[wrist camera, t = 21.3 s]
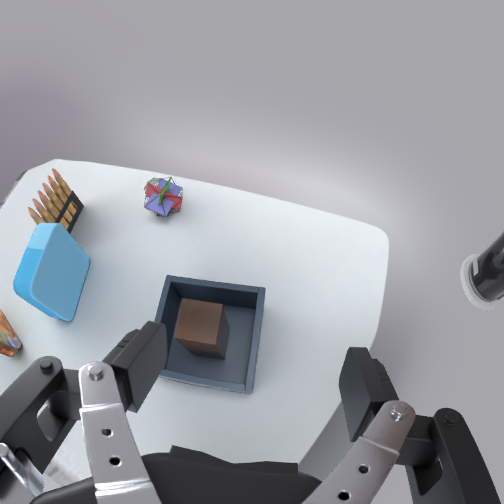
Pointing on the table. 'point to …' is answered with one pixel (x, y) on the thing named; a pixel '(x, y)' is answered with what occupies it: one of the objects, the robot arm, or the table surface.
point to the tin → (8, 338)
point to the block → (203, 328)
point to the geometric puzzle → (162, 196)
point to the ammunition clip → (57, 204)
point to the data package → (52, 271)
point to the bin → (240, 338)
